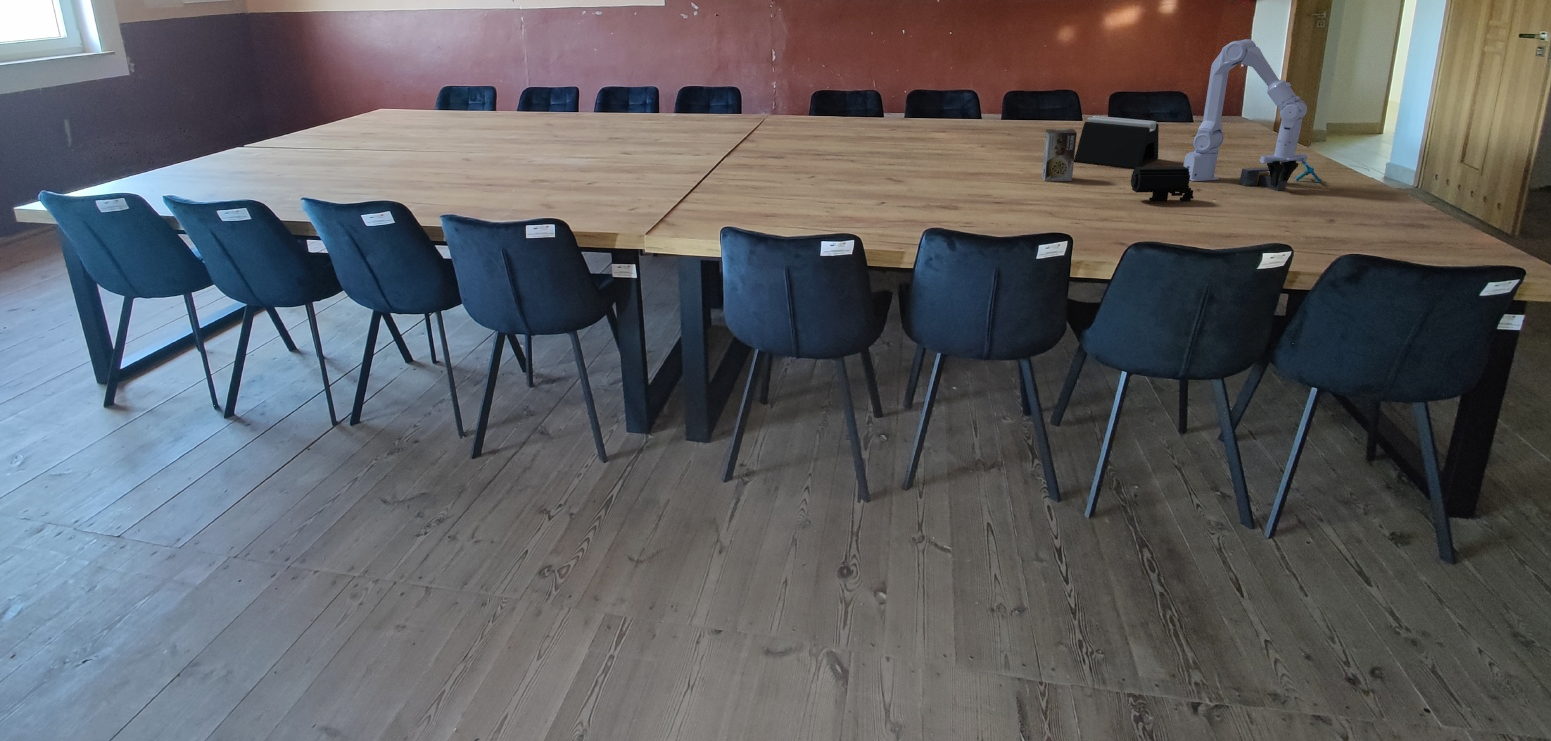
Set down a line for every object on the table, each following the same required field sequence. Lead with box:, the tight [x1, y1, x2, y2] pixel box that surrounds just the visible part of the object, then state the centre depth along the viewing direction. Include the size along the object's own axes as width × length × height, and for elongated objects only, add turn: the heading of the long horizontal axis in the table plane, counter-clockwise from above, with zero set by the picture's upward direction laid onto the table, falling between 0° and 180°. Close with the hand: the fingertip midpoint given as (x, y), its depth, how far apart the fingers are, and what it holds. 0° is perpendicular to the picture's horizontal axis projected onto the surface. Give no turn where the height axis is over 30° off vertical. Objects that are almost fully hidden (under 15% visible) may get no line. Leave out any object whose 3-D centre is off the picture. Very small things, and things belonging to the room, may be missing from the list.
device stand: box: [1074, 115, 1160, 170], centre depth 329 cm, size 22×22×15 cm
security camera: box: [1130, 165, 1194, 203], centre depth 275 cm, size 7×18×10 cm, turn 89°
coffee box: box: [1041, 128, 1078, 182], centre depth 303 cm, size 9×6×16 cm
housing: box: [1238, 166, 1281, 187], centre depth 294 cm, size 14×3×5 cm, turn 98°
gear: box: [1295, 161, 1322, 183], centre depth 297 cm, size 11×6×10 cm
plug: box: [1256, 171, 1287, 192], centre depth 292 cm, size 15×4×4 cm, turn 8°
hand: (1277, 185), depth 287 cm, fingers closed on plug, 2 cm apart
